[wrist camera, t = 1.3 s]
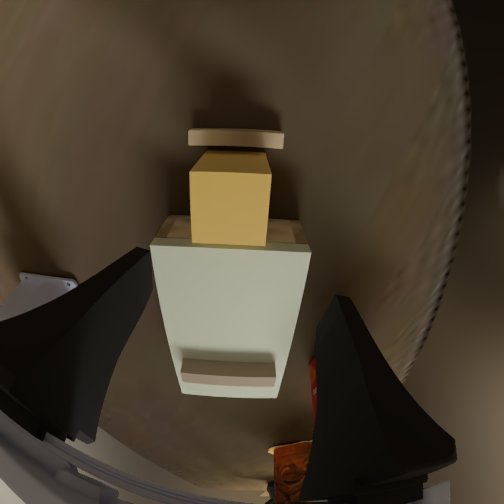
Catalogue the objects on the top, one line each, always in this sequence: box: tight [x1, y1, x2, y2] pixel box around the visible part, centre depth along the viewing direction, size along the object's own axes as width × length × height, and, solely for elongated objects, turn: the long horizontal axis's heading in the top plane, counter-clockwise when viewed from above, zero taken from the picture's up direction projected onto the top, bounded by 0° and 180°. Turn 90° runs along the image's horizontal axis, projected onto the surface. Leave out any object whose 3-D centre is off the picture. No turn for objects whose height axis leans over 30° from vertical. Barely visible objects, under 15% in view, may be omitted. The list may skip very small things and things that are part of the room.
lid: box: [150, 238, 311, 398], centre depth 21 cm, size 10×18×3 cm, turn 177°
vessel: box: [268, 440, 328, 504], centre depth 40 cm, size 14×14×20 cm
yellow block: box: [190, 150, 272, 246], centre depth 16 cm, size 4×4×6 cm
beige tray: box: [155, 128, 308, 245], centre depth 22 cm, size 10×25×4 cm, turn 177°
